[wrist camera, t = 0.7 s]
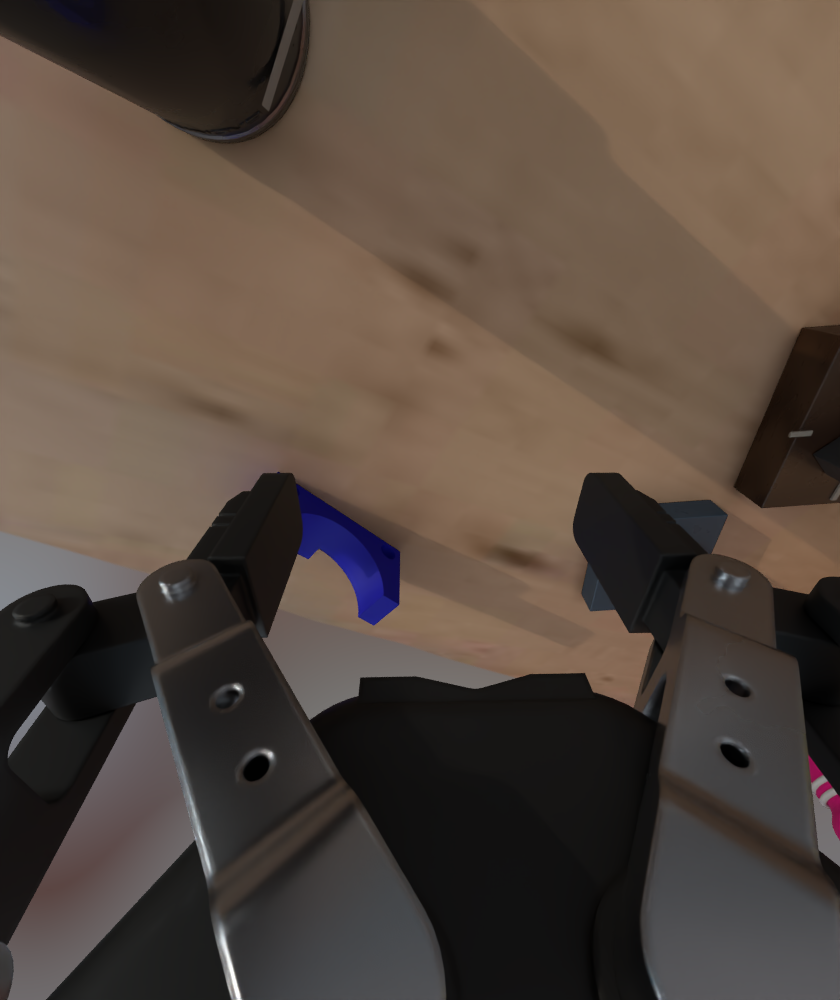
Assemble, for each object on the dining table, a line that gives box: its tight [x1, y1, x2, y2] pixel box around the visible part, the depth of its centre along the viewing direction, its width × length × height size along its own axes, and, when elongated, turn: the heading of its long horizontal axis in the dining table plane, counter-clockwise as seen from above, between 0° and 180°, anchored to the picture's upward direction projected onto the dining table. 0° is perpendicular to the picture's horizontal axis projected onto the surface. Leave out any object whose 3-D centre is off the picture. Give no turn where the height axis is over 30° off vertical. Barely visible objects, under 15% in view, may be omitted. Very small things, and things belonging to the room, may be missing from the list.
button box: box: [582, 500, 728, 611], centre depth 34 cm, size 10×9×4 cm
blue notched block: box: [277, 472, 400, 625], centre depth 31 cm, size 12×4×6 cm, turn 48°
